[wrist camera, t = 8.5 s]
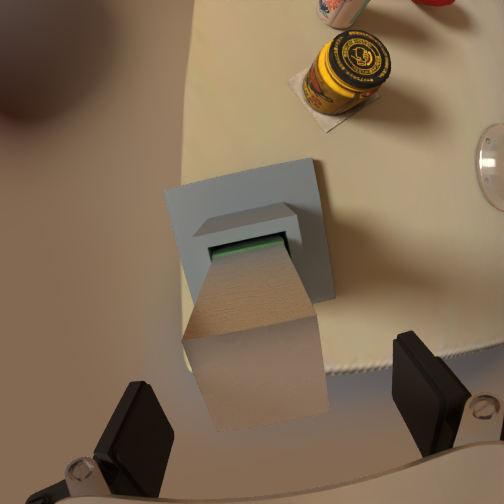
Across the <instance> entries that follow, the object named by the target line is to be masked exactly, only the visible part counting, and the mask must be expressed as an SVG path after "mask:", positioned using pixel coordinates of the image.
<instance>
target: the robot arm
mask: <svg viewBox="0 0 504 504" xmlns="http://www.w3.org/2000/svg"><path fill="white" fill-rule="evenodd" d="M476 166H477V175H478V180H479V183H480V187H481V189H482V192H483V194H484V196H485V197H486V199H487V200H488V202H489V203H490V204H491V205H492V206H493V207H495V208H496V209H498V210H502V211H504V124H495V125H492V126H490V127H489V128H487V129H486V131H485V132H484V133H483V135H482V137H481V139H480V141H479V145H478V149H477V158H476ZM392 396H393V400H394V402H395V404H396V406H397V408H398V410H399V411H400V413H401V415H402V417H403V419H404V421H405V423H406V425H407V427H408V429H409V430H410V433H411V435H412V437H413V438H414V441H415V443H416V444H417V446H418V448H419V450H420V452H421V454H422V457H423V458H421V459H419V460H416V461H413V462H410V463H407V464H404V465H402V466H398V467H395V468H392V469H389V470H385V471H382V472H379V473H375V474H372V475H368V476H365V477H361V478H357V479H353V480H349V481H345V482H341V483H336V484H332V485H327V486H323V487H317V488H312V489H306V490H300V491H294V492H288V493H281V494H272V495H263V496H254V497H241V498H224V499H223V498H222V499H167V498H158V497H159V493H160V489H161V485H162V482H163V478H164V474H165V470H166V467H167V463H168V459H169V456H170V452H171V448H172V444H173V441H174V431H173V429H172V427H171V425H170V423H169V421H168V420H167V417H166V415H165V414H164V412H163V410H162V408H161V406H160V404H159V402H158V400H157V397H156V395H155V393H154V391H153V389H152V387H151V386H150V385H149V384H147V383H146V382H145V381H135V382H130V383H129V385H128V387H127V388H126V390H125V392H124V394H123V396H122V398H121V400H120V402H119V404H118V405H117V408H116V409H115V411H114V413H113V415H112V417H111V419H110V421H109V423H108V425H107V427H106V428H105V430H104V433H103V434H102V436H101V438H100V440H99V442H98V444H97V446H96V448H95V450H94V457H93V459H92V458H91V457H86V456H85V457H79V458H76V459H74V460H72V461H71V462H70V463H69V464H68V465H67V467H66V469H65V471H64V475H65V479H64V480H62V481H60V482H58V483H56V484H54V485H52V486H50V487H47V488H45V489H43V490H41V491H39V492H36V493H34V494H33V495H31V496H30V497H29V498H28V499H27V501H26V503H25V504H504V402H503V400H502V399H501V398H500V397H499V396H498V395H496V394H494V393H491V392H480V393H477V394H474V395H473V396H472V395H471V393H470V392H469V391H468V390H467V389H466V388H465V386H464V385H463V384H462V383H461V381H460V380H459V379H458V378H457V377H456V375H455V374H454V373H453V372H452V371H451V369H450V368H449V367H448V366H447V365H446V364H445V362H444V361H443V360H442V359H441V358H440V357H437V356H436V357H435V356H434V355H433V354H432V352H431V351H430V350H429V349H428V348H427V347H426V345H425V344H424V343H423V342H422V341H421V340H420V339H419V337H418V336H417V335H416V334H415V333H414V332H413V331H408V332H404V333H401V334H398V335H397V339H394V340H393V376H392Z"/></svg>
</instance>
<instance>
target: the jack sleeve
mask: <svg viewBox="0 0 504 504" xmlns="http://www.w3.org/2000/svg"><path fill="white" fill-rule="evenodd" d="M163 192H164V196H165V201H166V205H167V209H168V213H169V216H170V221H171V224H172V228H173V232H174V236H175V240H176V244H177V247H178V251H179V255H180V258H181V262H182V265H183V269H184V273H185V276H186V279H187V283H188V286H189V290H190V293H191V296H192V300H193V303H194V306H195V303H196V301H197V298H198V296H199V293H200V290H201V288H202V285H203V283H204V280H205V277H206V275H207V272H208V270H209V267H210V265H211V262H212V260H213V257H212V254H213V252H214V251H216V250H217V247H218V245H222V244H226V243H231V242H236V241H240V240H245V239H249V238H254V237H259V236H263V235H268V234H273V233H277V232H278V234H279V236H280V237H282V238H283V240H284V245H285V248H286V250H287V252H288V254H289V257H290V259H291V261H292V263H293V265H294V267H295V269H296V271H297V273H298V276H299V278H300V280H301V282H302V284H303V286H304V288H305V291H306V293H307V295H308V297H309V299H310V301H311V303H312V306H313V303H318V302H322V301H326V300H330V299H335V290H334V282H333V275H332V268H331V262H330V255H329V248H328V242H327V236H326V230H325V224H324V218H323V212H322V207H321V201H320V196H319V191H318V185H317V180H316V175H315V170H314V165H313V160H312V158H307V159H301V160H296V161H291V162H285V163H280V164H275V165H270V166H265V167H260V168H256V169H251V170H246V171H242V172H237V173H233V174H228V175H224V176H220V177H216V178H211V179H207V180H203V181H199V182H195V183H191V184H187V185H183V186H179V187H176V188H172V189H168V190H164V191H163Z"/></svg>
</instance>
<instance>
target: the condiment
mask: <svg viewBox="0 0 504 504" xmlns="http://www.w3.org/2000/svg"><path fill="white" fill-rule="evenodd" d="M390 72H391V60H390V55H389V52H388V51H387V49H386V47H385V46H384V45H383V43H382V42H381V41H380V40H379V39H377V38H376V37H375V36H374V35H372V34H369V33H367V32H365V31H362V30H348V31H345V32H343V33H341V34H339V35H337V36H336V37H335V38H334V39H333V40H332V41H330V42H328V43H327V44H326V45H325V46H324V47H323V48H322V50H321V51H320V52H319V54H318V55H317V57H316V59H315V61H314V63H313V64H312V65H311V66H309V67H308V68H306V69H304V70H303V71H301V72H299V73H298V74H296V75H295V76H293V77H291V78H290V79H288V80H286V82H287V83H288V85H289V86H290V87H291V88H292V90H293V91H294V92H295V93H296V95H297V96H298V97H299V99H300V100H301V101H302V102H303V104H304V105H305V106H306V107H307V109H308V110H309V111H310V113H311V114H312V115H313V117H314V118H315V119H316V120H317V121H318V123H319V124H320V126H321V127H322V128H323V130H324V131H325V132H328V131H329V130H330V129H332V128H333V127H335V126H336V125H338V124H339V123H341V122H342V121H344V120H345V119H347V118H348V117H350V116H351V115H353V114H354V113H356V112H357V111H359V110H360V109H362V108H363V107H365V106H366V105H368V104H369V103H371V102H372V101H374V100H375V99H377V98H379V97H380V95H379V93H378V92H377V90H378V89H379V88H380V86H381V84H382V83H384V82H385V81H386V79H387V78H389V74H390Z"/></svg>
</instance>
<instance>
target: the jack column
mask: <svg viewBox="0 0 504 504" xmlns="http://www.w3.org/2000/svg"><path fill="white" fill-rule="evenodd" d="M212 257H213V260H212V262H211V265H210V267H209V270H208V272H207V275H206V277H205V280H204V283H203V285H202V288H201V290H200V293H199V296H198V298H197V301H196V303H195V306H194V309H193V311H192V314H191V316H190V319H189V322H188V324H187V327H186V330H185V332H184V335H183V338H182V344H183V347H184V349H185V352H186V355H187V357H188V360H189V363H190V366H191V368H192V371H193V373H194V376H195V379H196V381H197V384H198V386H199V389H200V391H201V394H202V396H203V399H204V401H205V404H206V406H207V408H208V411H209V413H210V416H211V418H212V420H213V423H214V425H215V427H216V430H217V431H218V432H220V431H229V430H238V429H245V428H252V427H259V426H265V425H271V424H276V423H281V422H287V421H292V420H297V419H302V418H307V417H312V416H316V415H320V414H325V413H328V412H329V405H328V397H327V387H326V379H325V371H324V363H323V356H322V348H321V341H320V334H319V327H318V320H317V314H316V312H315V310H314V308H313V306H312V303H311V301H310V299H309V297H308V295H307V293H306V291H305V288H304V286H303V284H302V282H301V280H300V278H299V276H298V273H297V271H296V269H295V267H294V265H293V263H292V261H291V259H290V257H289V254H288V252H287V250H286V248H285V245H284V240H283V238H282V237H280V236H279V234H278V232H277V233H273V234H268V235H263V236H259V237H254V238H249V239H245V240H240V241H236V242H231V243H226V244H222V245H218V247H217V250H216V251H214V252H213V254H212Z"/></svg>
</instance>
